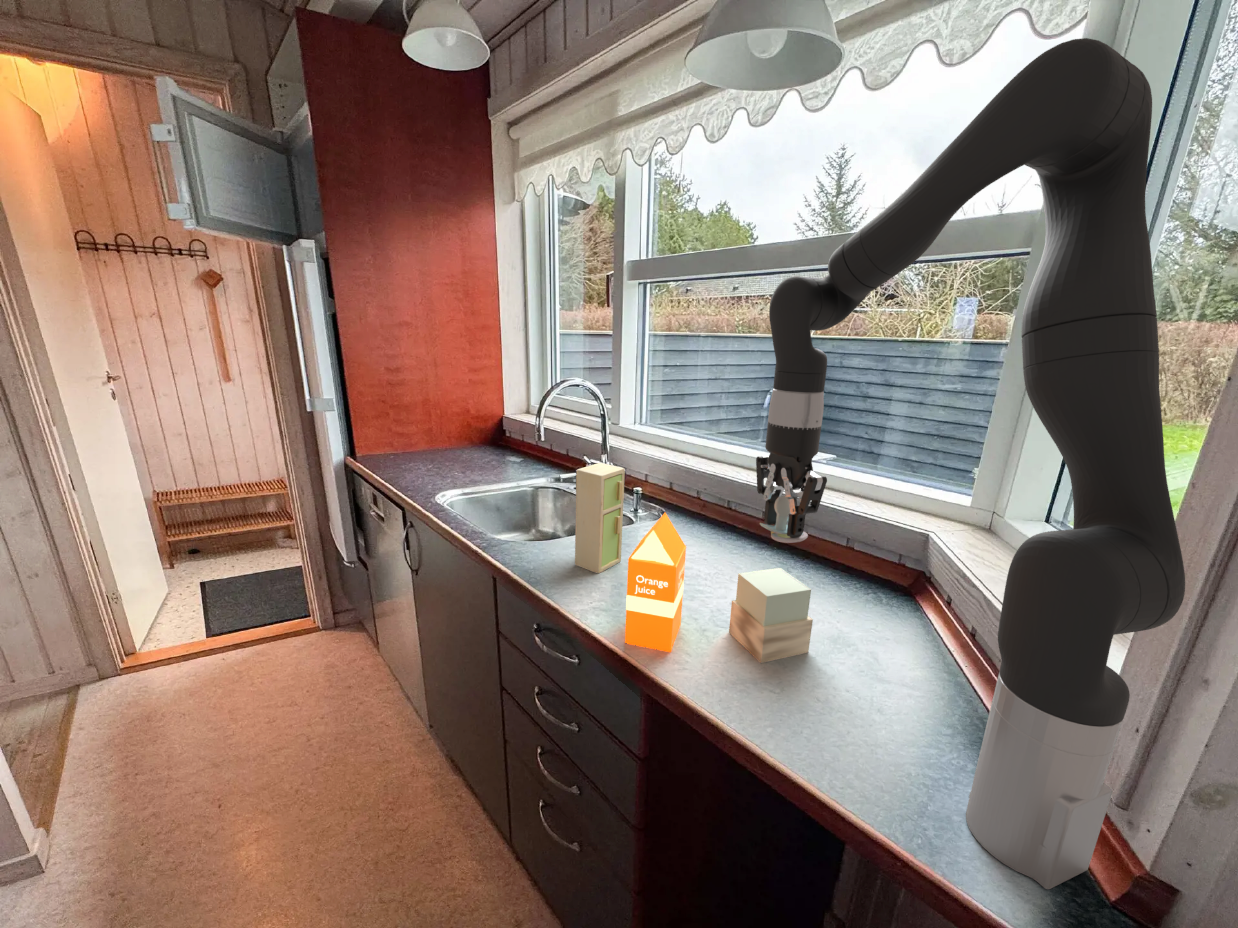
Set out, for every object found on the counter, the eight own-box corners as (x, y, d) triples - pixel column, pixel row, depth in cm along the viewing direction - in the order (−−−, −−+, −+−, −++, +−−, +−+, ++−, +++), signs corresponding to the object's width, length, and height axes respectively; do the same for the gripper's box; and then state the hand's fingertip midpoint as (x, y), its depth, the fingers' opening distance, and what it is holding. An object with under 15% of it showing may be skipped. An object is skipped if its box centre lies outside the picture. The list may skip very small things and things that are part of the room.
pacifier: (816, 540, 82) (786, 526, 87) (822, 502, 81) (792, 490, 86) (782, 548, 79) (753, 533, 84) (788, 508, 77) (758, 495, 82)
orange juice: (681, 624, 93) (689, 514, 88) (671, 652, 84) (679, 533, 79) (637, 616, 95) (642, 508, 90) (623, 643, 87) (628, 526, 82)
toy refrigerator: (601, 575, 110) (603, 475, 104) (573, 565, 114) (575, 469, 109) (624, 562, 116) (628, 468, 111) (597, 553, 120) (600, 462, 115)
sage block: (807, 618, 85) (811, 589, 83) (763, 626, 82) (767, 596, 81) (776, 594, 92) (779, 567, 91) (735, 601, 89) (738, 573, 88)
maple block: (808, 653, 86) (812, 619, 84) (760, 663, 83) (764, 628, 81) (773, 624, 94) (777, 592, 93) (728, 632, 91) (731, 600, 89)
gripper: (850, 429, 74) (834, 544, 78) (784, 412, 87) (773, 512, 91) (806, 431, 71) (791, 550, 76) (745, 414, 84) (735, 516, 89)
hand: (782, 529), depth 83 cm, fingers closed on pacifier, 5 cm apart
